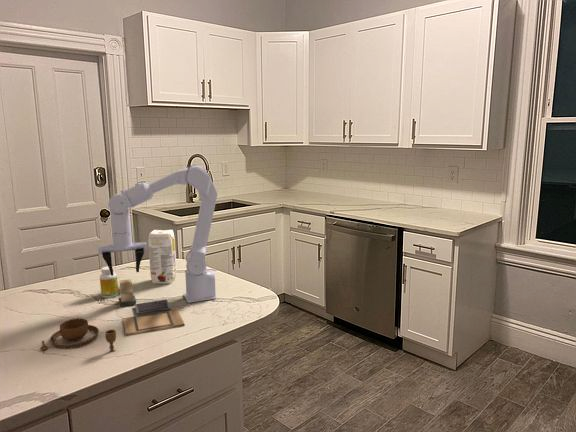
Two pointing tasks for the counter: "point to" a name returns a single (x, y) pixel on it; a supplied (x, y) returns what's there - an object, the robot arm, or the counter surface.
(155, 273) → the juice carton
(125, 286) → the stamp
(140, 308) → the ink pad
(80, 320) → the place setting
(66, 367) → the counter surface
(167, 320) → the marked board
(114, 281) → the supplement bottle
